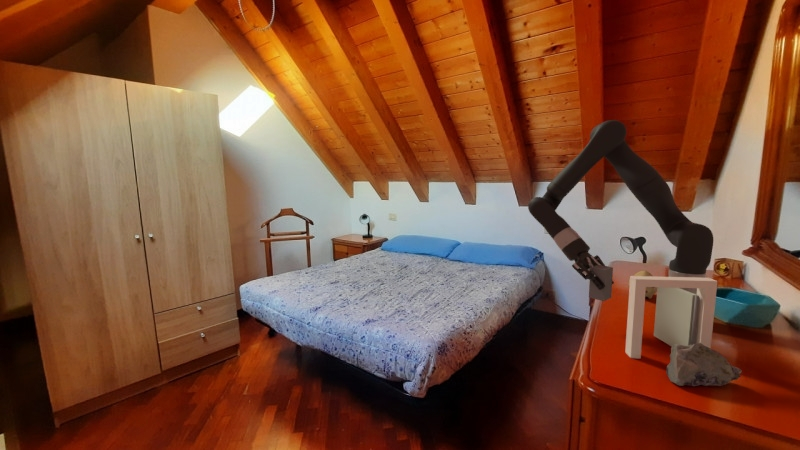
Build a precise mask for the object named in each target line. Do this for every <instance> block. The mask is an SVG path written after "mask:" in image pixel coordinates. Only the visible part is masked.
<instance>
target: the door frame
mask: <svg viewBox="0 0 800 450" xmlns="http://www.w3.org/2000/svg"><path fill="white" fill-rule="evenodd" d="M629 281H630V288H629V287H628V288H629V291H628V305H627V321H626V334H625V335H626V336H625V349H624V350H625V351H624V352H625V354H626V355H627V356H628V357H629V358H630V359H641V357H642V344H643V331H644V330H643V329H644V328H643V327H644V316H645V303H646V302H645V301H646V297H645V291H646V287H668V288H697V296H699V303H698V313H697V324H696V335H695V344H697V343H698V342H699V343H701V344H703V345H704V346H707V347H709V348H711V349H712V340H713V339H712V338H713V329H714V328H713V327H714V317H715V308H716V299H717V288H718V280H715V279H713V278H711V277H705V278H700V277H668V276H654V275H653V276H634V275H630V277H629Z"/></svg>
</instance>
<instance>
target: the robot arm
mask: <svg viewBox="0 0 800 450" xmlns="http://www.w3.org/2000/svg"><path fill="white" fill-rule="evenodd" d="M626 136H627V128H626V125H625V124H624V123H623V122H621V121H620V120H617V119H615V120H614V119H612V120H610V119H609V120H606V121H603V122H601V123H599V124H598V125H595V126H594V127H593V128H592V129H591V131H590V134H589V141H588V143H587V144H586V146H585V147H584V148H583V149H582V150H581V151H580V152H579V154H578V155H576V157H574V158H573V160H572V161H570V162H569V163H568V164H567V165H566V166H565V167H563V169H561V171H560V172H559V173H558V174H556V176H555V177H554V178H553V179H552V180H551V181H550V182H549V184H548V185H547V187H546V192H545V193H544V195H543V196H542V197H541V196H535V197H533V198H532V199H531V200H529V203H528V205H527V208H528V212H529V214H530V215H531V216H532V217H533V218H534V219H535V220H536V221H537V223H539V225H541V226H542V227H543V228H544V230H545V231H546V232H547V233H548V235H549V236H550V237H551V239H553V241H554V243H555V244H556V246H557V247H558V248H559V250H560V251H561V252H562V253H563V254H564V256H565V257H566V258H567V259H568V261H571V262H573V261H574V263H573V264H571V267H572V269H574V270H575V271H576V273H578V275H580V276H581V277H582V278H583V279H584V280H588V281H590V280H591V281H592V282H593V283H594V284H595V285H596V287H597V288H598V289H599V290H601V289H603V288H605V287H606V286H605V284H604V283H603V282H602V281H601V280H600V279H599V277H598V276H597V275H596V273H595V272H594V271H593V266H596V265H602V266H606V264H605V263H604V262H603V261H602V259H601V257H600V256H599V255H597V254H596V255H595V256H593V255H592V254H591V253H590V252H589V251H590V250H591V247H590V246H589V244H587V242H586V241H585V240H584V239H583V237H581V235H580V234H579V233H578V231H576V230H575V229H574V228H572V226H570V224H569V222H567V221H566V220H565V219H564V217H562V216H561V215H559V214H558V212H557V209H558V207H559V206H560V204H561V202H562V201H563V200H564V198H565V197H567V195H569V193H570V192H571V191H572V190H573V189H574V188H575V187H576V186H577V185H578V184H579V182H580V181H581V180H582V179H583V178H584V177H585V176H586V174H588V173H589V172H590V171H591V169H592V168H594V166H595V165H597V164H598V162H600V161H601V160H602V159H603V158H605V159H606V160H607V161H608V162H609V163H610V164H611V166H612V167H613V168H614V169H615V171H616V173H617V174H618V176H619V177H620V178H621V180H622V182H624V184H625V186H626V187H627V188H628V190H629V191H630V192H631V194H633V196H634V197H635V199H637V201H639V203H640V204H641V205H642V206H643V207H644V208H645V210H646V211H647V212H648V213H649V214H650V215H651V216H652V217H653V219H654V220H655V221H656V222H657V224H658V225H659V227H660V229H661V230H662V232H663V234H664V235H665V237H666V238H667V241H669V243H670V244H671V245H673V246H675V247H676V252H675V258H674V259H671V260H670V261H669V264H668V276H667V277H700V278H707V275H706V274H707V269H708V267H709V266H710V264H711V260H712V253H713V248H714V234H713V231H712V230H711V229H710V228H709V227H708V226H706V225H704V224H700V223H696V222H692V220H690V219H689V218H688V217H687V216H686V215H685V214H684V213H683V211H682V210H680V209H679V207H678V206H677V203H676V202H675V198H674V196H673V193H672V190H671V188H670V186H669V184H668V183H667V181H666V180H665V179H664V177H662V175H661V174H660V172H659V171H658V170H657V169H655V167H654V166H653V165H651V164H650V163H648V161H647V160H645V159H643V158H642V157H641V156H639V155H638V154H637V153H636V152H635V151H634V150H633V149H632V148H631V147H630V145H629V144H628V143H627V141H626V140H625V139H626ZM596 276H597V277H596ZM614 283H615V282H614V281H613V280H612V285H614ZM680 289H683V290H686V291H688V292H691V293H693V294H696V295H697V288H680Z"/></svg>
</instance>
